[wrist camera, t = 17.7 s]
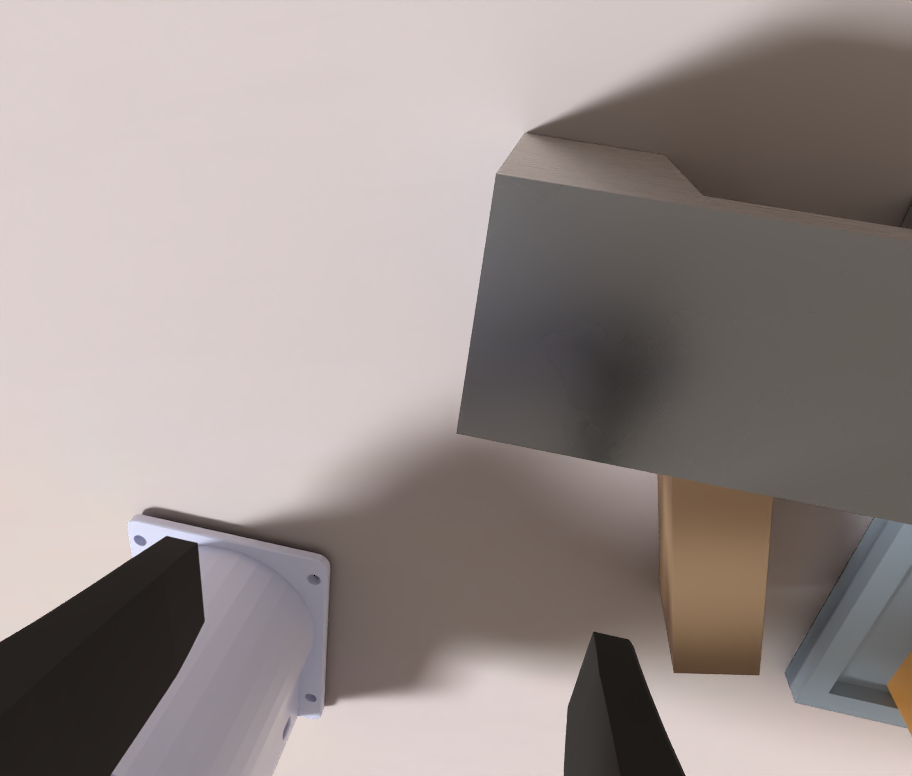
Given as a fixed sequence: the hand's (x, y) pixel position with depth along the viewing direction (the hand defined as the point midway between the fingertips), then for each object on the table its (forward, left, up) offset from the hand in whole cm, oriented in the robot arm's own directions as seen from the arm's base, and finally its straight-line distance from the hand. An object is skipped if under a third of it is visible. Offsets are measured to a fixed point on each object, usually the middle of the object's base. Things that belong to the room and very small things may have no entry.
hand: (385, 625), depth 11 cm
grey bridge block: (+5, -7, -9) cm, 13 cm away
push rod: (0, -7, -10) cm, 12 cm away
